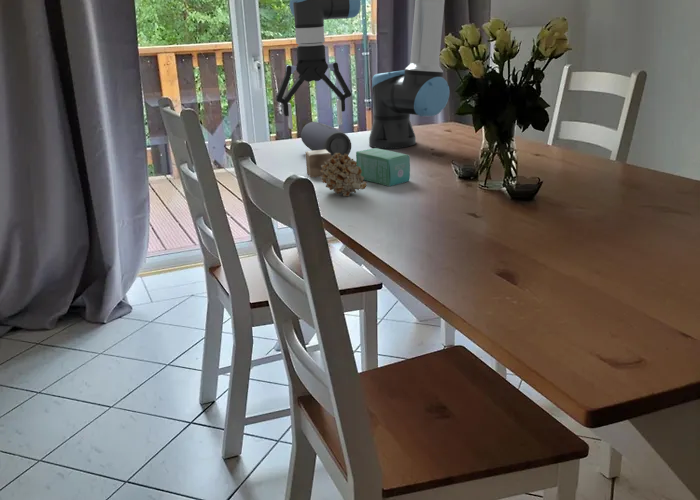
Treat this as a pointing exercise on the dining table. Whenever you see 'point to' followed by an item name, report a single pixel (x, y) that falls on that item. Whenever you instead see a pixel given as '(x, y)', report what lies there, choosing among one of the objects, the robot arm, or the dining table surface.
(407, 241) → the dining table surface
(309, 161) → the walnut cube
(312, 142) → the bluetooth speaker
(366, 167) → the box
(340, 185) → the pine cone
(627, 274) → the dining table surface
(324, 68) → the robot arm
